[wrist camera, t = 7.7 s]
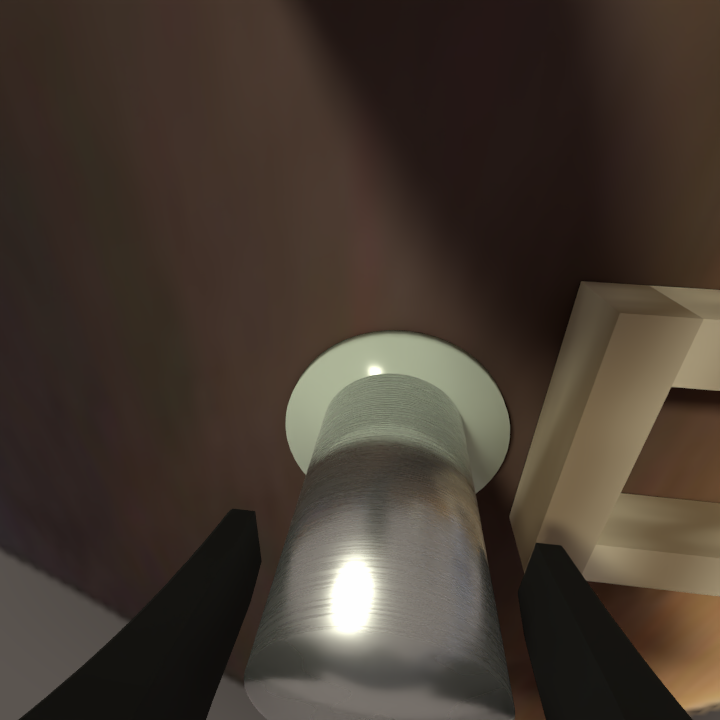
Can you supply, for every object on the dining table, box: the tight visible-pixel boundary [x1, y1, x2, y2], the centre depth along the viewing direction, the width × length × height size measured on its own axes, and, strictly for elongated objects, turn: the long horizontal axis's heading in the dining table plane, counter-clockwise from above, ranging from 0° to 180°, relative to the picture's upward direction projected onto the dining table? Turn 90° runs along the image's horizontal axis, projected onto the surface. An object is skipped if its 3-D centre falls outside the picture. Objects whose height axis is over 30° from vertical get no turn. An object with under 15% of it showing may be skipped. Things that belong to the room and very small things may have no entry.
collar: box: [509, 281, 720, 596], centre depth 13 cm, size 10×10×2 cm
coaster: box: [286, 330, 510, 493], centre depth 15 cm, size 8×8×1 cm
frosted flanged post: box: [244, 373, 515, 720], centre depth 11 cm, size 5×5×8 cm
